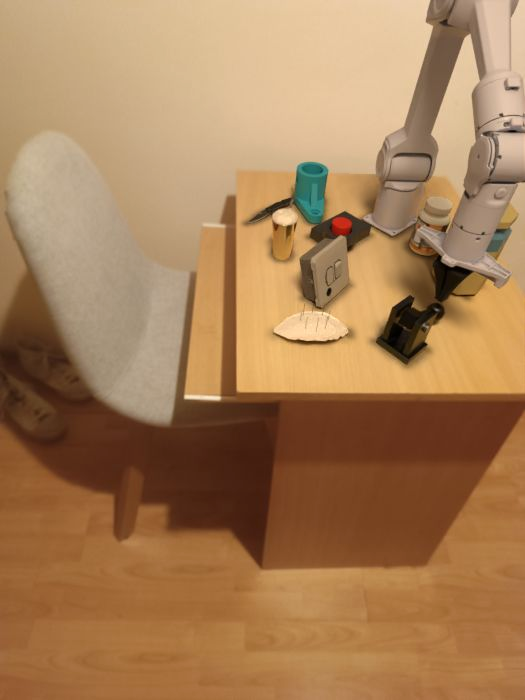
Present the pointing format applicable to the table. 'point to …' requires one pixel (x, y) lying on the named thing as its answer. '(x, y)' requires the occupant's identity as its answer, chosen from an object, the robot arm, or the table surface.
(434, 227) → the pill bottle
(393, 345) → the bracket
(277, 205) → the folding knife
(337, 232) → the button
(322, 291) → the electrical switch
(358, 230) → the control block
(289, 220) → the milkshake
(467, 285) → the jar
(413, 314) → the lever
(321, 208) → the bracket
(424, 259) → the table surface
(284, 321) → the pincushion
